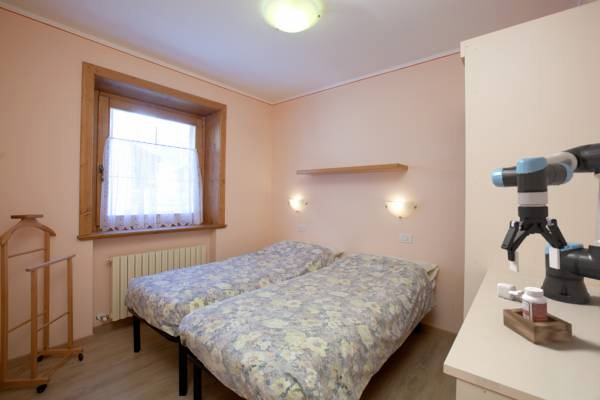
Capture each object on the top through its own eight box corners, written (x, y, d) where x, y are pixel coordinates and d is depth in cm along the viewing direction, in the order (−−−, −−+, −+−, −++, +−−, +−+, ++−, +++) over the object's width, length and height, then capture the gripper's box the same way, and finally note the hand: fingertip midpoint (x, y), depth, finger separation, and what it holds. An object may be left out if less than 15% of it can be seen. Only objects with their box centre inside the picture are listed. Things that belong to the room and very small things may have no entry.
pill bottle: (550, 322, 87) (549, 289, 87) (544, 328, 84) (543, 294, 83) (526, 315, 92) (525, 284, 92) (519, 321, 89) (518, 288, 89)
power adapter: (532, 303, 109) (532, 289, 109) (525, 305, 107) (525, 291, 107) (502, 294, 120) (502, 281, 119) (496, 296, 118) (495, 283, 117)
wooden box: (536, 322, 94) (536, 307, 94) (572, 341, 82) (571, 324, 82) (503, 324, 94) (503, 309, 94) (534, 344, 82) (533, 326, 82)
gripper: (558, 202, 91) (560, 263, 92) (486, 206, 90) (489, 268, 91) (582, 203, 83) (583, 270, 84) (504, 208, 83) (506, 275, 84)
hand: (534, 269), depth 88 cm, fingers open, 13 cm apart
